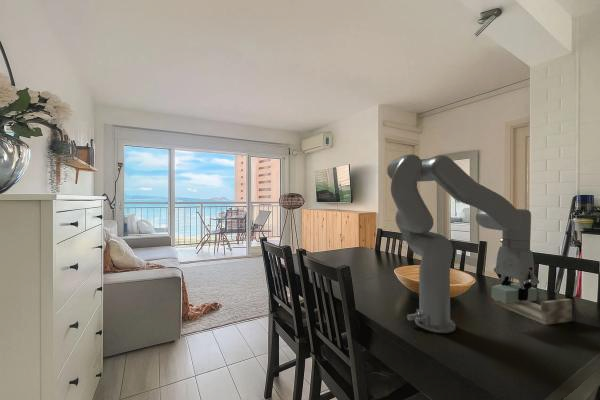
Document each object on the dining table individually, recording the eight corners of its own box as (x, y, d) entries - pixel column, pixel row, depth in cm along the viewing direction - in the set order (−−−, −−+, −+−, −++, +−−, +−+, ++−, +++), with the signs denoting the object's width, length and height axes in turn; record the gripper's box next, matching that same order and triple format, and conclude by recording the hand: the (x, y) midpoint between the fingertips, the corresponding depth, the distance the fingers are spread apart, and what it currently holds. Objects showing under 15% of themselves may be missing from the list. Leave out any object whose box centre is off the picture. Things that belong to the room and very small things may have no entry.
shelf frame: (545, 324, 90) (545, 302, 90) (494, 303, 108) (494, 285, 108) (572, 320, 92) (572, 299, 92) (517, 300, 111) (517, 282, 111)
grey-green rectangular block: (505, 303, 87) (506, 291, 87) (491, 297, 92) (491, 286, 92) (536, 300, 91) (537, 288, 91) (521, 295, 95) (521, 284, 95)
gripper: (484, 240, 99) (483, 289, 99) (534, 249, 82) (532, 307, 82) (500, 240, 100) (499, 288, 100) (552, 249, 84) (550, 306, 84)
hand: (514, 296), depth 91 cm, fingers closed on grey-green rectangular block, 5 cm apart
